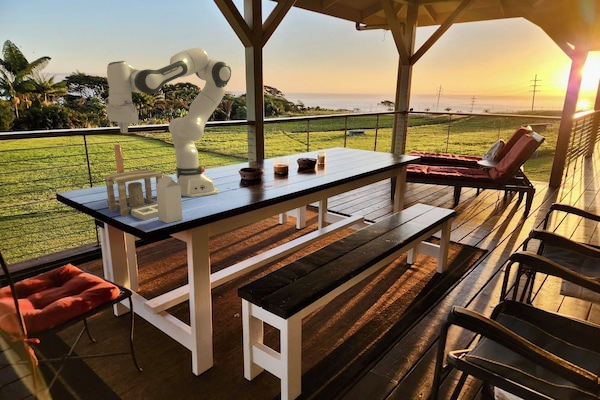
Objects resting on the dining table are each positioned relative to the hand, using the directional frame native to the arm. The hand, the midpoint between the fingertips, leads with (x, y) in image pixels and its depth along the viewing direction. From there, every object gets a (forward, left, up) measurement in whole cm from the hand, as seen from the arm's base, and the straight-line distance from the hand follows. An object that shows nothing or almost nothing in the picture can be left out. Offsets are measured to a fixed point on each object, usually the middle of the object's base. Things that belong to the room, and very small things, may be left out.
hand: (124, 132), depth 171 cm
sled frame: (-1, +1, -34) cm, 34 cm away
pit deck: (-8, +15, -34) cm, 38 cm away
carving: (-2, +4, -34) cm, 35 cm away
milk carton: (-15, +26, -34) cm, 45 cm away
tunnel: (-2, +4, -34) cm, 34 cm away
